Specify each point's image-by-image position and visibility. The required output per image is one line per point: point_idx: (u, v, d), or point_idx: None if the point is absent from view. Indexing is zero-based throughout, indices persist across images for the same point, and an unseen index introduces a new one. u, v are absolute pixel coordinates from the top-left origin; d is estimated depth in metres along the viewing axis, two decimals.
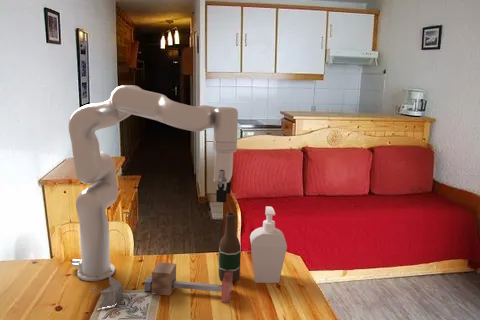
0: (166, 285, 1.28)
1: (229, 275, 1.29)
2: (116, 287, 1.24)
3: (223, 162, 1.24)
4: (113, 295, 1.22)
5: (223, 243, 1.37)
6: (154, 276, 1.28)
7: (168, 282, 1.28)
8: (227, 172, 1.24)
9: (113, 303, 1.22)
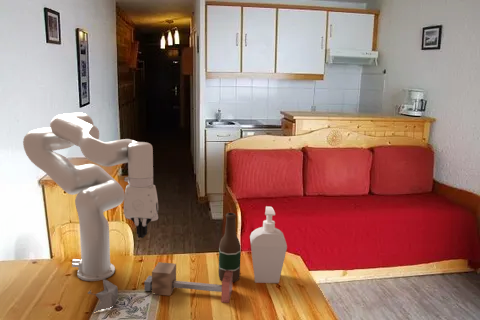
0: (166, 285, 1.28)
1: (229, 275, 1.29)
2: (111, 289, 1.23)
3: (156, 195, 1.26)
4: (109, 297, 1.21)
5: (223, 243, 1.37)
6: (154, 276, 1.28)
7: (168, 282, 1.28)
8: (157, 203, 1.28)
9: (109, 305, 1.20)
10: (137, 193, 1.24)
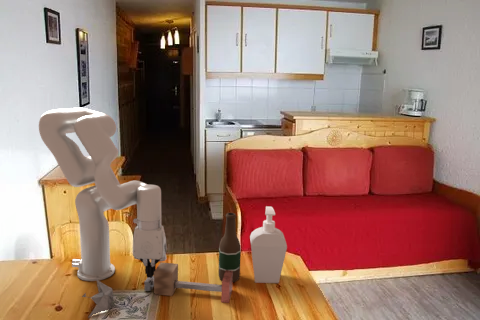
0: (168, 285, 1.28)
1: (229, 275, 1.29)
2: (107, 291, 1.21)
3: (164, 236, 1.29)
4: (105, 299, 1.19)
5: (223, 243, 1.37)
6: (156, 276, 1.28)
7: (170, 282, 1.28)
8: (165, 243, 1.31)
9: (105, 308, 1.19)
10: (146, 235, 1.26)
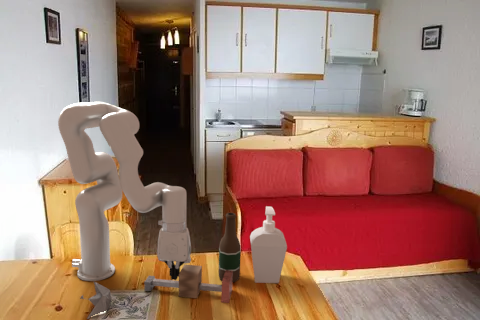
0: (193, 288, 1.27)
1: (229, 275, 1.29)
2: (105, 293, 1.21)
3: (189, 238, 1.28)
4: (103, 301, 1.19)
5: (223, 243, 1.37)
6: (181, 278, 1.27)
7: (195, 285, 1.27)
8: None
9: (104, 309, 1.18)
10: (172, 237, 1.25)
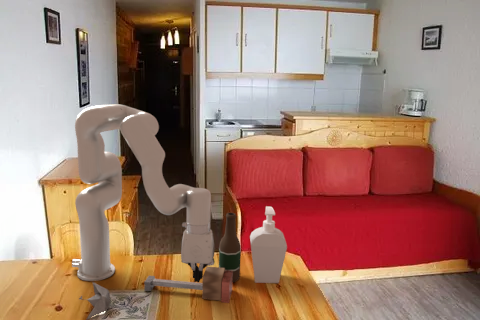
0: (217, 290, 1.26)
1: (229, 275, 1.29)
2: (104, 293, 1.20)
3: (213, 240, 1.27)
4: (102, 301, 1.18)
5: (223, 243, 1.37)
6: (204, 280, 1.26)
7: (219, 287, 1.26)
8: None
9: (103, 310, 1.18)
10: (196, 239, 1.24)
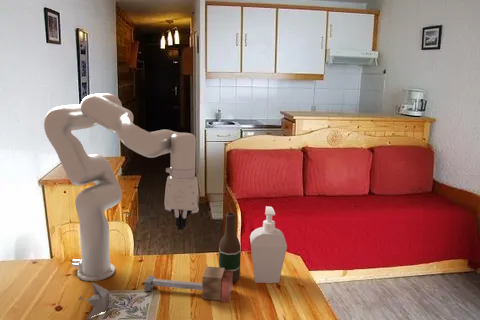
0: (217, 290, 1.26)
1: (229, 275, 1.29)
2: (103, 293, 1.20)
3: (197, 187, 1.24)
4: (102, 301, 1.18)
5: (223, 243, 1.37)
6: (204, 280, 1.26)
7: (219, 287, 1.26)
8: None
9: (103, 310, 1.18)
10: (180, 184, 1.21)
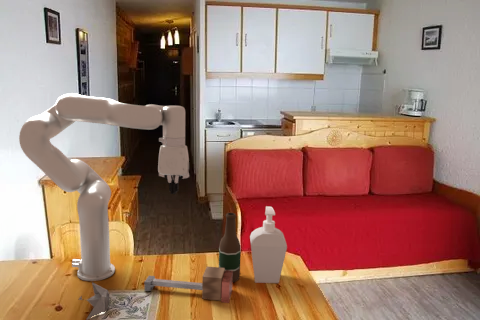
0: (217, 290, 1.26)
1: (229, 275, 1.29)
2: (103, 293, 1.20)
3: (187, 154, 1.38)
4: (102, 301, 1.18)
5: (223, 243, 1.37)
6: (204, 280, 1.26)
7: (219, 287, 1.26)
8: None
9: (103, 310, 1.18)
10: (171, 152, 1.35)
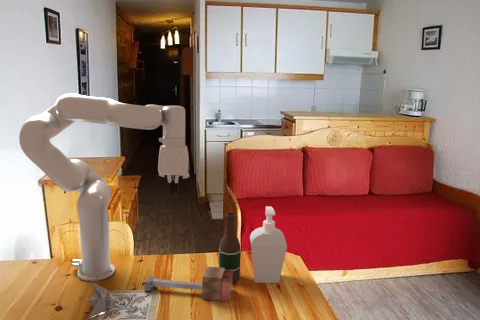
0: (217, 290, 1.26)
1: (229, 275, 1.29)
2: (103, 293, 1.20)
3: (187, 154, 1.38)
4: (102, 301, 1.18)
5: (223, 243, 1.37)
6: (204, 280, 1.26)
7: (219, 287, 1.26)
8: None
9: (103, 310, 1.18)
10: (171, 152, 1.35)
